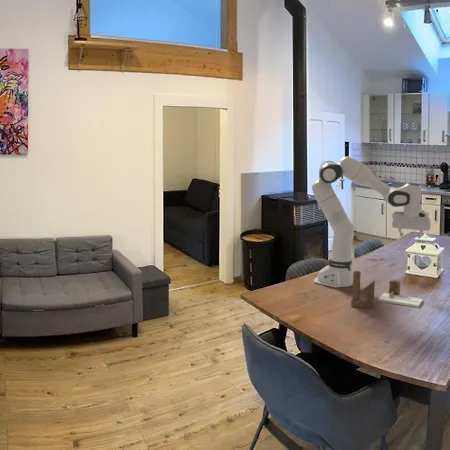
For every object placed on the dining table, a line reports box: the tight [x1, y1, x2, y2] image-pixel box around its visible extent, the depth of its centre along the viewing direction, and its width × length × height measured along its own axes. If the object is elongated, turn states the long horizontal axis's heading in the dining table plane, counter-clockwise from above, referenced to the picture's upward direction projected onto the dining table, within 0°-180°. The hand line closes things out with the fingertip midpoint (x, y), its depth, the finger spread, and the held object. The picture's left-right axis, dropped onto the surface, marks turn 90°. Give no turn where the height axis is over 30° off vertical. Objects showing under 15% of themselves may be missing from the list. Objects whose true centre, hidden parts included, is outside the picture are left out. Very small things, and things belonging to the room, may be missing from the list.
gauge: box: [388, 279, 402, 297], centre depth 274 cm, size 5×12×8 cm, turn 149°
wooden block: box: [350, 270, 376, 310], centre depth 259 cm, size 4×11×18 cm, turn 66°
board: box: [378, 292, 424, 308], centre depth 268 cm, size 20×11×1 cm, turn 59°
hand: (410, 237), depth 286 cm, fingers open, 8 cm apart
